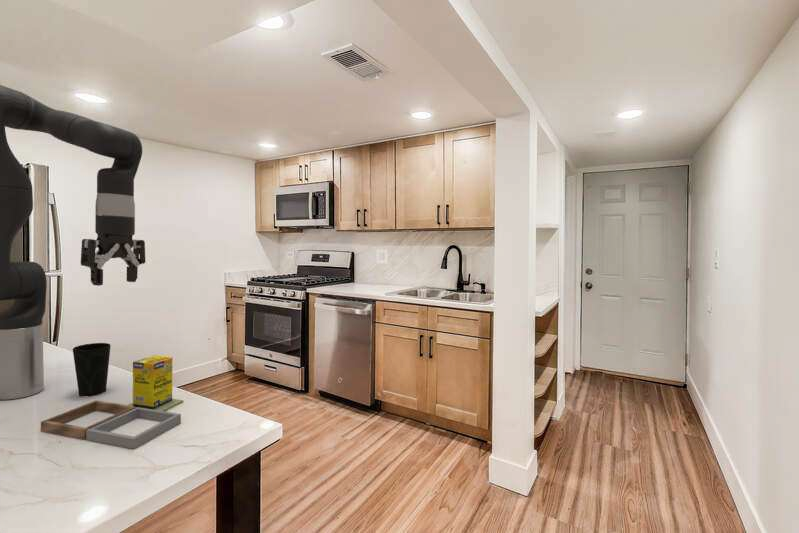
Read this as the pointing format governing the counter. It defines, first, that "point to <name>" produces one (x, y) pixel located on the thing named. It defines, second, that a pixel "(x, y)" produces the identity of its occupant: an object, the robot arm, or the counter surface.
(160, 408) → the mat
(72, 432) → the walnut tray
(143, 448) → the counter surface
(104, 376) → the cup
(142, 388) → the supplement box
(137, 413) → the grey tray
